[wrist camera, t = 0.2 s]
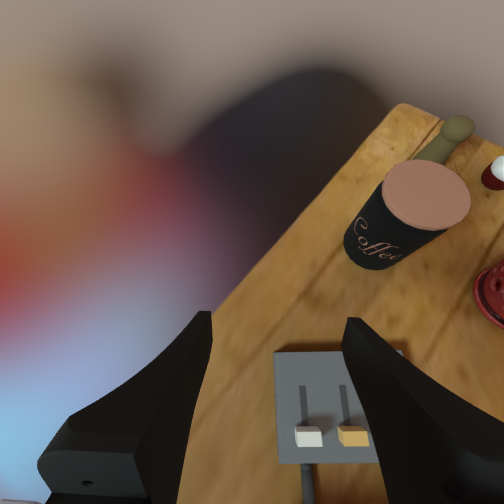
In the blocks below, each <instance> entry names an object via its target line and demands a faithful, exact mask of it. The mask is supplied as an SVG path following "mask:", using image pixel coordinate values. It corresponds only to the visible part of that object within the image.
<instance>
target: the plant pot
mask: <svg viewBox="0 0 504 504" xmlns="http://www.w3.org/2000/svg"><path fill="white" fill-rule="evenodd" d="M473 296H474V300H475V302H476V305H477V306H478V308H479V309H480V311H481V312H482V313H483V315H484V316H485V317H486V318H487V319H489V320H490V321H491V322H492V323H494V324H495V325H497V326H498V327H500V328H502V329H504V259H503V260H502V261H500V262H499V263H498V264H496V265H495V266H494V267H493V268H489V269H487V270H485V271H483V272H482V273H480V274H479V275H478V276H477V278H476V279H475V281H474V284H473Z"/></svg>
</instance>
